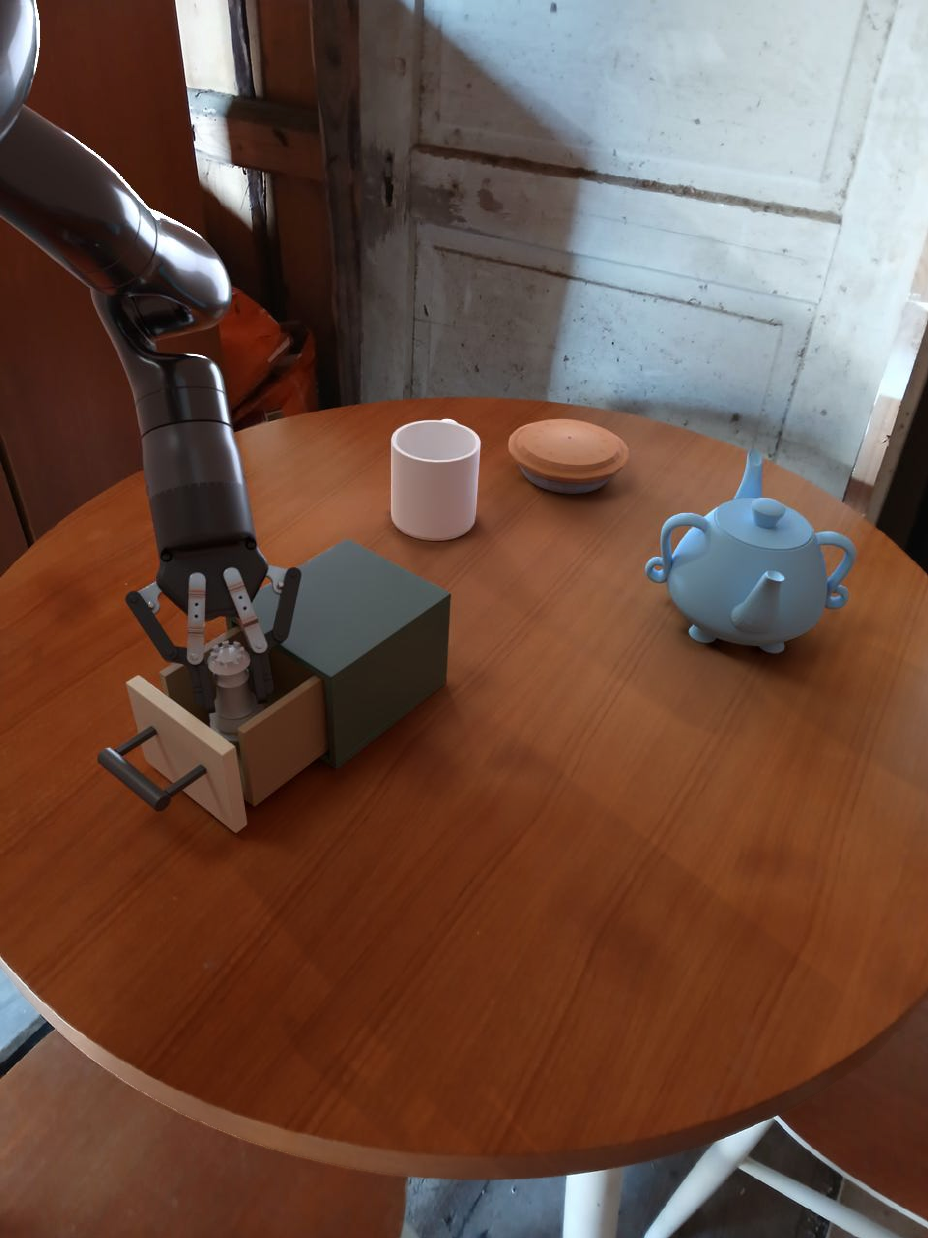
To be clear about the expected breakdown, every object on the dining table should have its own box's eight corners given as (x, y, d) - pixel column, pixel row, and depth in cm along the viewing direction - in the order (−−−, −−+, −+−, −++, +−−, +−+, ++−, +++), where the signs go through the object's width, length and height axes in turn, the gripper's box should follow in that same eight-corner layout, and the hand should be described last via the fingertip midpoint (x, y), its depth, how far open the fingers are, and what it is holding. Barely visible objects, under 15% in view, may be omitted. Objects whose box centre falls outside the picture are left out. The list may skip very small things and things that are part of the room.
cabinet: (336, 770, 76) (331, 677, 70) (237, 701, 82) (223, 609, 75) (446, 682, 85) (451, 593, 79) (350, 625, 91) (347, 537, 85)
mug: (465, 547, 103) (470, 468, 97) (380, 533, 104) (380, 454, 98) (487, 493, 113) (492, 417, 106) (409, 481, 114) (410, 405, 108)
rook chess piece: (236, 754, 71) (224, 679, 66) (198, 727, 73) (184, 653, 68) (278, 722, 74) (269, 649, 69) (240, 698, 76) (230, 624, 71)
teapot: (737, 697, 86) (778, 578, 77) (614, 586, 99) (636, 473, 90) (856, 648, 92) (905, 534, 84) (725, 550, 105) (756, 442, 97)
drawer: (185, 873, 67) (167, 794, 61) (94, 793, 72) (70, 714, 66) (358, 738, 78) (355, 661, 72) (268, 678, 83) (260, 602, 78)
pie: (631, 506, 112) (638, 471, 109) (506, 499, 112) (509, 463, 109) (618, 447, 124) (624, 413, 121) (505, 440, 124) (508, 407, 121)
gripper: (97, 491, 65) (138, 726, 64) (292, 467, 69) (333, 688, 68) (108, 514, 72) (145, 727, 71) (284, 492, 76) (321, 692, 75)
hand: (237, 707), depth 70 cm, fingers closed on rook chess piece, 3 cm apart
